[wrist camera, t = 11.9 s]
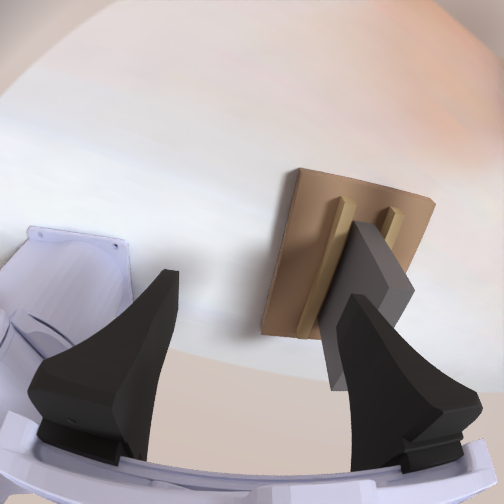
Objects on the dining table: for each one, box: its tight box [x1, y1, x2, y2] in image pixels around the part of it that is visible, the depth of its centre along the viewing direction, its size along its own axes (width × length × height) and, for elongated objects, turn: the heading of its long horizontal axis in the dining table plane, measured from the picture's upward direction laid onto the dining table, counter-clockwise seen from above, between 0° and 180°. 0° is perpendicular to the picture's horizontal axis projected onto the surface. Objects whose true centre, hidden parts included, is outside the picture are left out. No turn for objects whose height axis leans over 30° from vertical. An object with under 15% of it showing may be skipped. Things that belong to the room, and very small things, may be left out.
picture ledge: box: [261, 168, 436, 340], centre depth 23 cm, size 10×14×2 cm
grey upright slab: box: [317, 221, 415, 391], centre depth 20 cm, size 2×9×7 cm, turn 171°
